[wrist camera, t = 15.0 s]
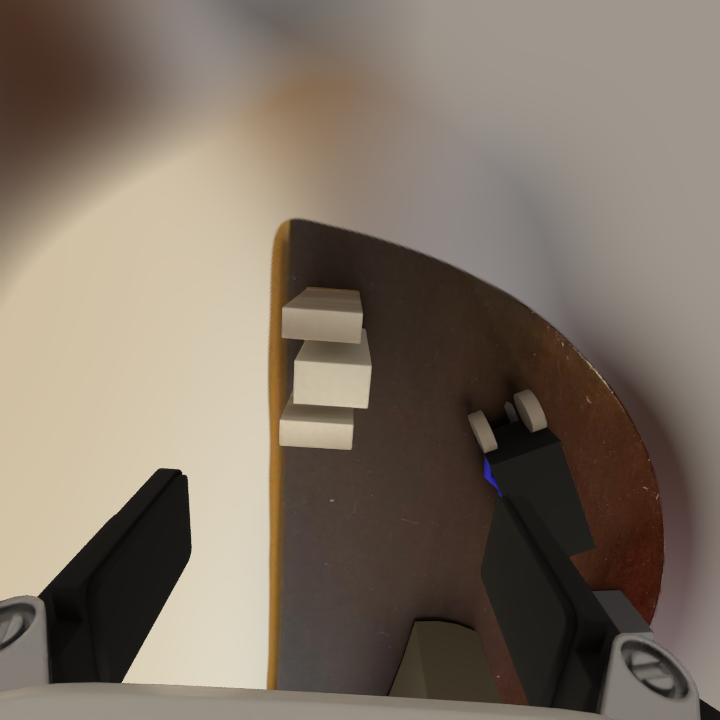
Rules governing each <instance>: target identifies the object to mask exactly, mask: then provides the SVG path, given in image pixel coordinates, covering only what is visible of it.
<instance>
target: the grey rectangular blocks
mask: <svg viewBox="0 0 720 720" xmlns="http://www.w3.org/2000/svg"><path fill="white" fill-rule="evenodd" d="M592 592H593V593H594V595H595V596H596V598H597V599H598V601H599V602H600V604H601V605H602V607H603V608H604V609H605V611H606V612H607V614H608V615H609V617H610V618H611V620H612V621H613V623H614V624H615V626H616V627H617V628H618V630H619V631H620V633H633V634H637V635H641V636H644V637H646V638H648V639H650V640H652V636H653V631H652V630H651V628H650V627H649V626H648V625H647V623H646V622H645V621H644V619H643V618H642V617H641V616H640V614H639V613H638V612H637V611H636V609H635V608H634V607H633V606H632V604H631V603H630V602H629V601H628V599H627V598H626V597H625V595H624V594H623V593H622V592H621V590H608V591H592Z"/></svg>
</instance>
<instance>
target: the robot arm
mask: <svg viewBox="0 0 720 720" xmlns="http://www.w3.org/2000/svg"><path fill="white" fill-rule="evenodd" d="M191 548H192V546H191V529H190V512H189V494H188V479H187V476H186V475H182V472H181V470H179V469H165V468H161V469H158V470H157V471H156V472H155V473H154V474H153V475H152V476H151V477H150V478H149V480H148V481H147V482H146V483H145V484H144V485H143V486H142V487H141V488H140V489H139V490H138V491H137V492H136V494H135V495H134V496H133V497H132V498H131V499H130V500H129V501H128V502H127V503H126V504H125V505H124V507H123V508H122V509H121V510H120V511H119V512H118V513H117V514H116V515H114V516H113V517H112V518H111V519H110V520H109V521H108V522H107V523H106V524H105V525H104V526H103V527H102V528H101V529H100V530H99V531H98V533H96V535H95V536H94V537H93V538H92V539H91V540H90V541H89V542H88V543H87V544H86V545H85V546H84V547H83V549H81V551H80V552H79V553H78V554H77V555H76V556H75V557H74V558H73V559H72V560H71V561H70V562H69V564H68V565H67V566H66V567H65V568H64V569H63V570H62V571H61V572H60V573H59V574H58V575H57V576H56V577H55V578H54V580H53V581H52V582H51V583H50V584H49V585H48V586H47V587H46V588H45V589H44V590H43V592H42V593H40V595H39V596H38V597H35V596H28V595H26V596H18V597H13V598H10V599H6V600H3V601H0V720H720V712H719V711H718V710H716V709H715V708H713V707H711V706H710V705H709V704H707V703H705V702H704V701H702V700H701V699H699V693H698V690H697V686H696V683H695V682H694V680H693V678H692V676H691V675H690V673H689V672H688V670H687V669H686V668H685V667H684V666H683V665H682V664H681V662H680V661H679V660H678V659H677V658H676V657H674V656H673V655H672V654H671V653H670V652H669V651H668V650H666V649H665V648H663V647H662V646H660V645H659V644H657V643H656V642H654V641H652V640H650V639H648V638H646V637H644V636H641V635H637V634H633V633H620V631H619V630H618V628H617V627H616V626H615V624H614V623H613V621H612V620H611V618H610V617H609V615H608V614H607V612H606V611H605V609H604V608H603V607H602V605H601V604H600V602H599V601H598V599H597V598H596V596H595V595H594V593H593V592H592V591H591V589H590V588H589V586H588V585H587V583H586V582H585V580H584V579H583V577H582V576H581V574H580V573H579V572H578V570H577V569H576V567H575V566H574V564H573V563H572V561H571V560H570V558H569V557H568V555H567V554H566V553H565V551H564V550H563V548H562V547H561V546H560V545H559V544H558V542H557V541H556V539H555V538H554V536H553V535H552V533H551V532H550V530H549V529H548V527H547V526H546V524H545V523H544V522H543V520H542V519H541V517H540V516H539V514H538V513H537V511H536V510H535V508H534V507H533V505H532V504H531V502H530V501H529V500H528V498H527V497H526V496H525V495H524V494H514V493H504V494H503V495H502V498H500V497H499V498H497V500H496V504H495V508H494V513H493V517H492V522H491V526H490V530H489V535H488V539H487V544H486V548H485V553H484V557H483V562H482V566H481V576H482V581H483V584H484V586H485V589H486V592H487V594H488V597H489V600H490V602H491V605H492V608H493V610H494V613H495V616H496V618H497V621H498V624H499V626H500V629H501V632H502V634H503V637H504V640H505V642H506V645H507V648H508V650H509V653H510V656H511V658H512V661H513V664H514V666H515V669H516V672H517V674H518V677H519V680H520V682H521V685H522V688H523V690H524V693H525V696H526V698H527V701H528V704H529V706H522V705H510V704H498V703H483V702H467V701H451V700H436V699H420V698H404V697H388V696H370V695H353V694H336V693H318V692H300V691H282V690H262V689H243V688H223V687H203V686H183V685H182V686H181V685H163V684H162V685H161V684H130V683H127V684H126V683H122V681H123V679H124V677H125V675H126V673H127V672H128V670H129V668H130V666H131V664H132V663H133V661H134V659H135V657H136V655H137V654H138V652H139V650H140V648H141V646H142V645H143V642H144V641H145V639H146V637H147V635H148V634H149V632H150V630H151V628H152V626H153V624H154V623H155V621H156V619H157V617H158V615H159V614H160V612H161V610H162V608H163V606H164V605H165V603H166V601H167V599H168V597H169V596H170V594H171V592H172V590H173V588H174V586H175V585H176V583H177V581H178V579H179V577H180V576H181V574H182V572H183V570H184V568H185V566H186V564H187V563H188V561H189V558H190V555H191Z"/></svg>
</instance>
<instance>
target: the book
mask: <svg viewBox="0 0 720 720" xmlns="http://www.w3.org/2000/svg"><path fill="white" fill-rule="evenodd" d="M388 697H404V698H420V699H436V700H451V701H467V702H483V703H498V704H501V701H500V698H499V695H498V692H497V689H496V686H495V683H494V680H493V677H492V674H491V671H490V667H489V664H488V661H487V658H486V655H485V652H484V649H483V646H482V643H481V640H480V637H479V634H478V632H476V631H473V630H471V629H468V628H466V627H463V626H461V625H458V624H452V623H446V622H441V621H417V622H414V625H413V629H412V632H411V635H410V638H409V641H408V645H407V648H406V651H405V654H404V657H403V660H402V663H401V665H400V668H399V670H398V673H397V676H396V678H395V681H394V684H393V686H392V689H391V691H390V694H389V695H388Z"/></svg>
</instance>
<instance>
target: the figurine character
mask: <svg viewBox="0 0 720 720" xmlns="http://www.w3.org/2000/svg"><path fill="white" fill-rule="evenodd" d="M514 401H515V404H516V407H517V410H518V412H519V414H520V417H521V420H518V417H517V415H516V412H515V410H514V407H513V405H512V404H510V403H509V402H507V401H506V402H505V405H504V408H505V410H506V413H507V415H508V418H509V420H510V422H511V423H510V424H507V425H504V426H502V427H499V428H496V429H493V430H491V428H490V426H489V424H488V422H487V420H486V418H485V416H484V414H483V412H482V411H481V410H480V411H477V412H474V413H472V414H469V415H468V418H469V421H470V424H471V427H472V429H473V431H474V434H475V436H474V437H475V440H476V442H477V444H478V446H479V447H480V449H481V451H482V453H483V455H484V456H485V466H484V477H485V478H486V479H487V480H488V481H489V482H490V483H491V484H492V485H493V486H495V487H496V488H497V489H498V490H499V491H498V494H499V496H500V497H502V495H503V494H504V493H514V494H524V495H525V496H526V497H527V498H528V500H529V501H530V502H531V504H532V505H533V507H534V508H535V510H536V511H537V513H538V514H539V516H540V517H541V519H542V520H543V522H544V523H545V524H546V526H547V527H548V529H549V530H550V532H551V533H552V535H553V536H554V538H555V539H556V541H557V542H558V544H559V545H560V546H561V547H562V548H563V550H564V551H565V553H566V554H567V555H568V557H569V556H572V555H576V554H579V553H582V552H585V551H589V550H592V549H595V548H597V547H596V544H595V541H594V538H593V535H592V532H591V529H590V526H589V523H588V520H587V517H586V514H585V511H584V508H583V505H582V502H581V499H580V496H579V493H578V490H577V487H576V484H575V481H574V478H573V475H572V472H571V469H570V466H569V463H568V460H567V457H566V454H565V451H564V448H563V445H562V442H561V440H560V439H559V438H557V437H556V436H555V435H554V434H553V433H552V432H551V431H550V430H549V429H548V428H547V423H546V418H545V415H544V413H543V410H542V408H541V406H540V404H539V402H538V400H537V399H536V397H535V396H534V394H533V393H532V392H531V391H530V390H529V389H527V390H524V391H521V392H519V393H516V394H514ZM491 471H492V472H493V475H494V476H492V475H491Z"/></svg>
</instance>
